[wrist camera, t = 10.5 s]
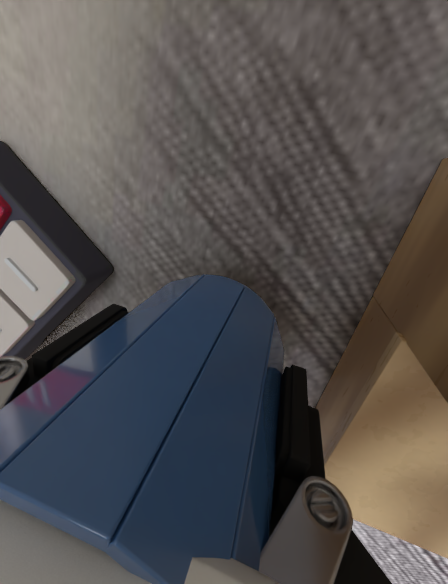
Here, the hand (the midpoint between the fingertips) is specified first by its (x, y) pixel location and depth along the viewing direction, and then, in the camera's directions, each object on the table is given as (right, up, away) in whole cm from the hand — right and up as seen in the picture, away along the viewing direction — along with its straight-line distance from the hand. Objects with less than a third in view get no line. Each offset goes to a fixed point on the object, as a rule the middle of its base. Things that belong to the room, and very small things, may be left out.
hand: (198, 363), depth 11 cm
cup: (+1, +1, +2) cm, 2 cm away
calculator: (-15, +5, +10) cm, 19 cm away
